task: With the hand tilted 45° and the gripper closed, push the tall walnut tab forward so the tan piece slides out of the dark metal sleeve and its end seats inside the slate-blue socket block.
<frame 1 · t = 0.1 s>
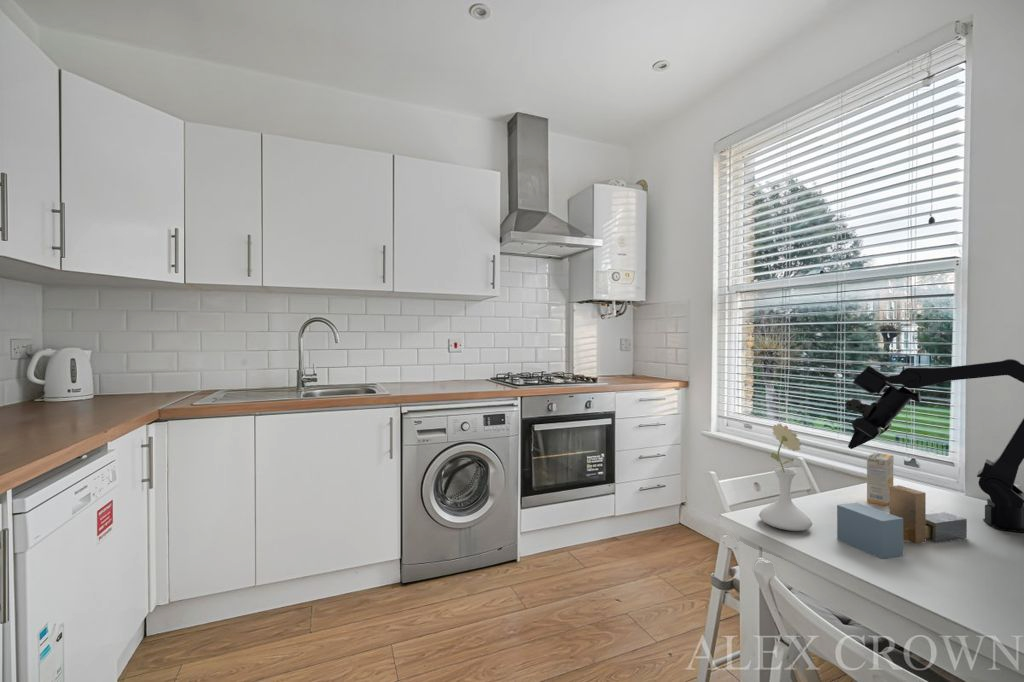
hand: (853, 445, 137), 15 cm above the table, tool tilted 35°, fingers open, 9 cm apart
outer sleeve: (924, 539, 106), on the table
supplement box: (880, 501, 132), on the table
tan piece: (917, 512, 105), point 6 cm above the table, slide at 0.0 cm
slate socket: (868, 529, 102), on the table
flower in vase: (783, 525, 114), on the table
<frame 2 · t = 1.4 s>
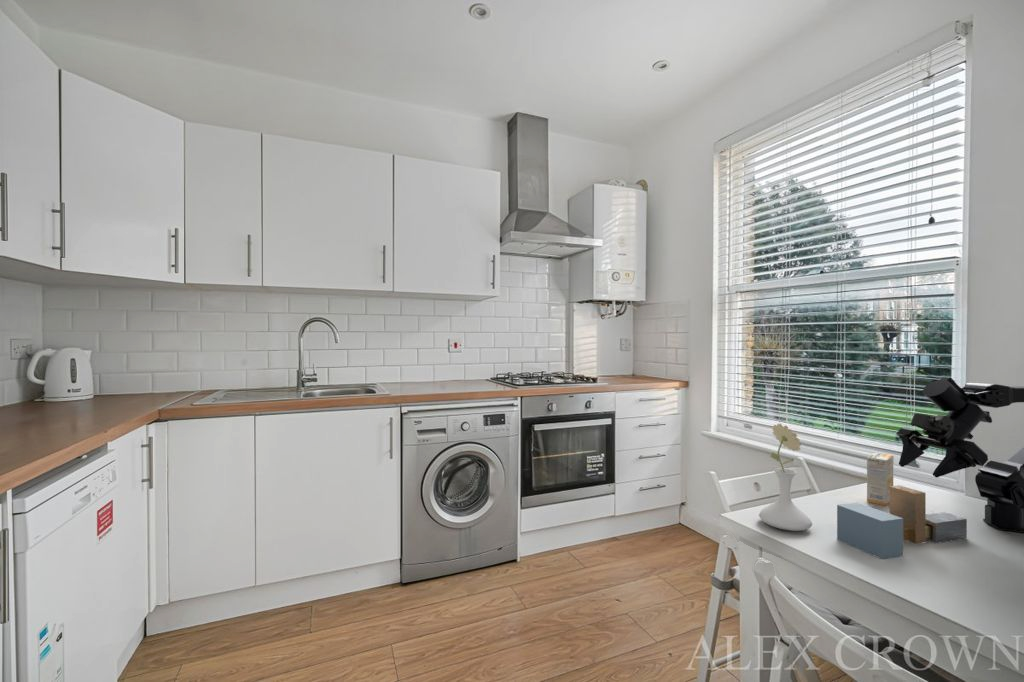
hand: (916, 470, 113), 14 cm above the table, tool tilted 40°, fingers open, 9 cm apart
nothing on the table moved.
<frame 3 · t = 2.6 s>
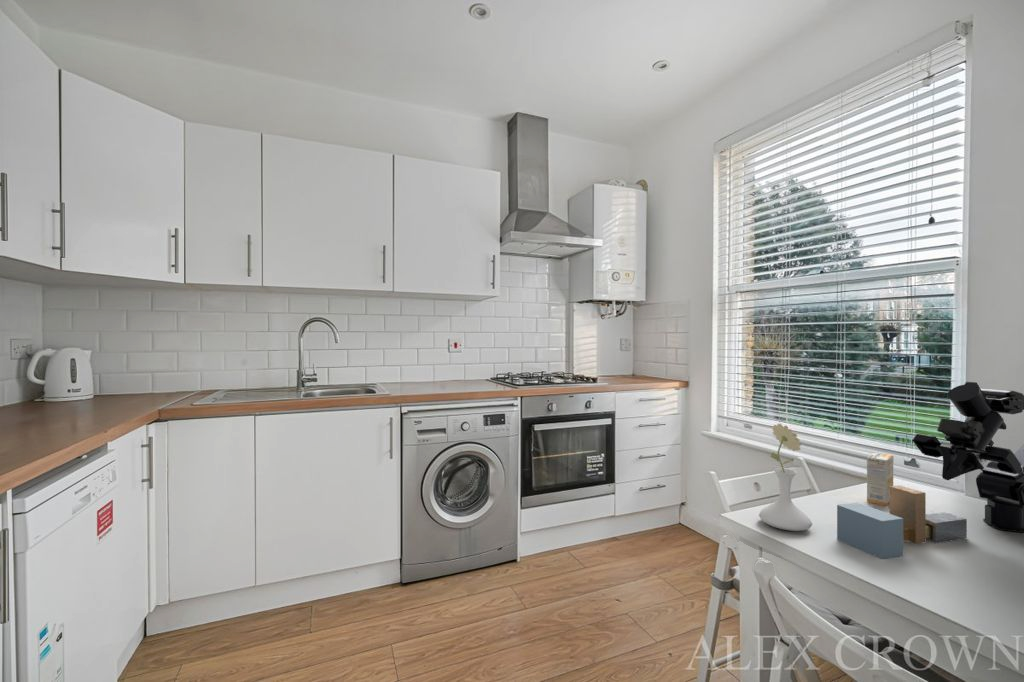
hand: (944, 478, 108), 14 cm above the table, tool tilted 45°, fingers closed
nothing on the table moved.
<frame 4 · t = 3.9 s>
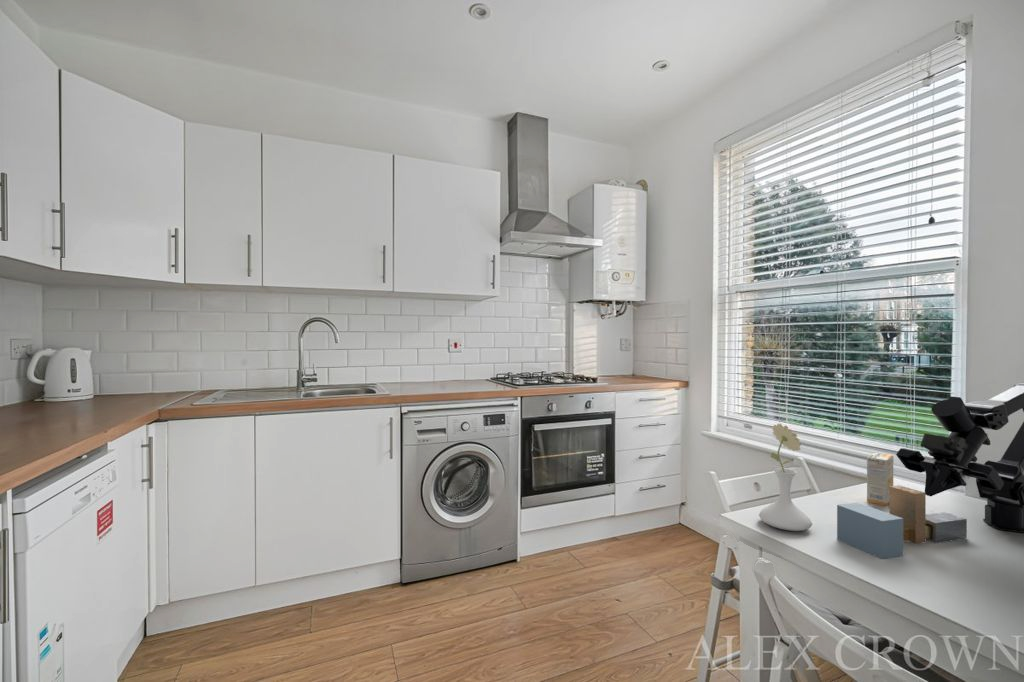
hand: (927, 494, 106), 10 cm above the table, tool tilted 45°, fingers closed
nothing on the table moved.
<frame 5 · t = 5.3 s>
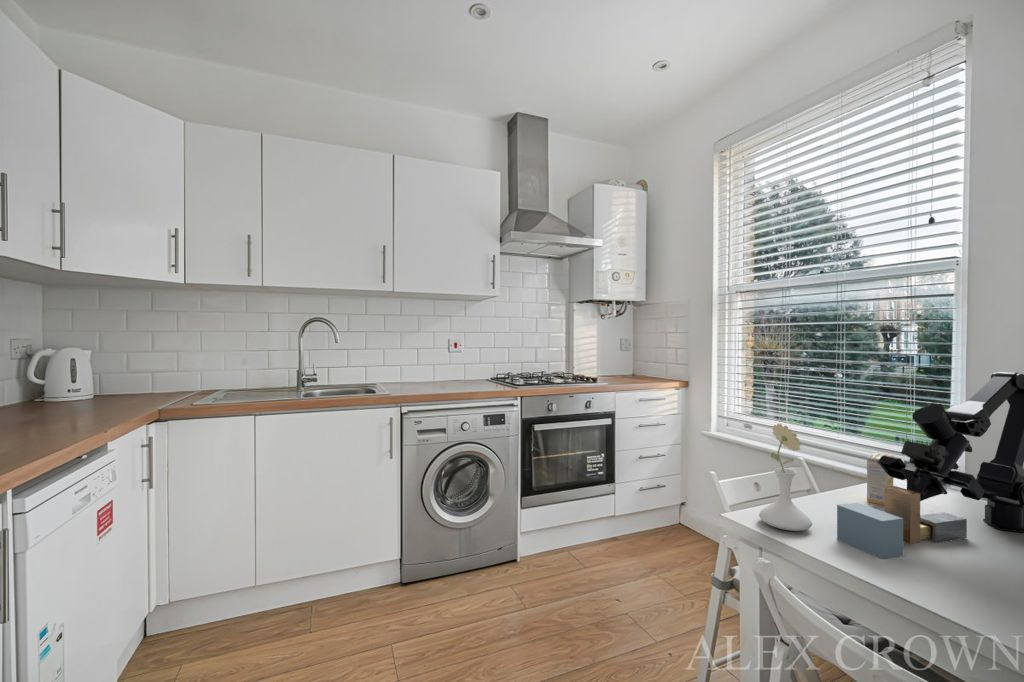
hand: (908, 503, 105), 9 cm above the table, tool tilted 45°, fingers closed, pressing on tan piece
tan piece: (912, 512, 105), point 6 cm above the table, slide at 1.6 cm, touching gripper
everything else where it was.
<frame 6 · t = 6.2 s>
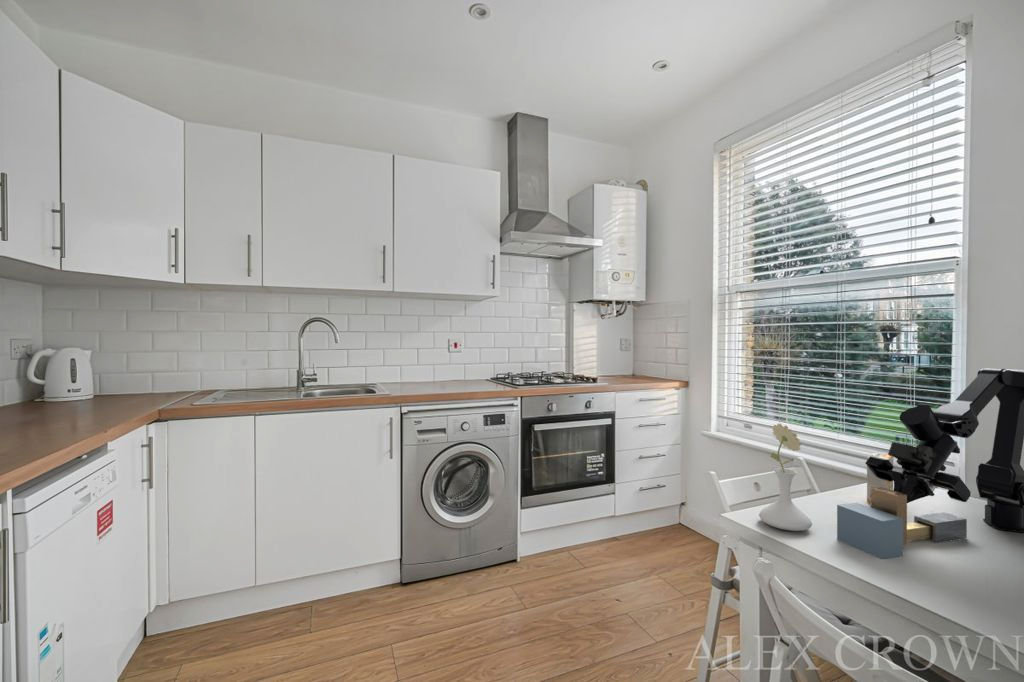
hand: (894, 505, 104), 9 cm above the table, tool tilted 45°, fingers closed, pressing on tan piece
tan piece: (899, 514, 104), point 6 cm above the table, slide at 5.6 cm, touching gripper
everything else where it was.
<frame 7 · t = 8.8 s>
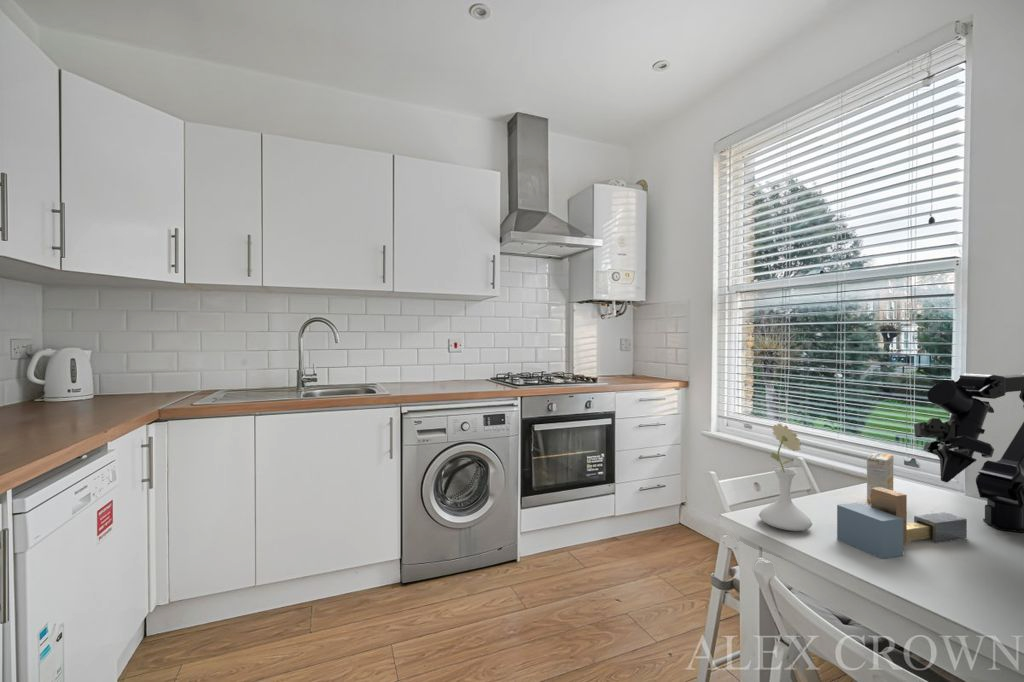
hand: (944, 481, 109), 13 cm above the table, tool tilted 25°, fingers closed
tan piece: (899, 514, 104), point 6 cm above the table, slide at 5.7 cm
everything else where it was.
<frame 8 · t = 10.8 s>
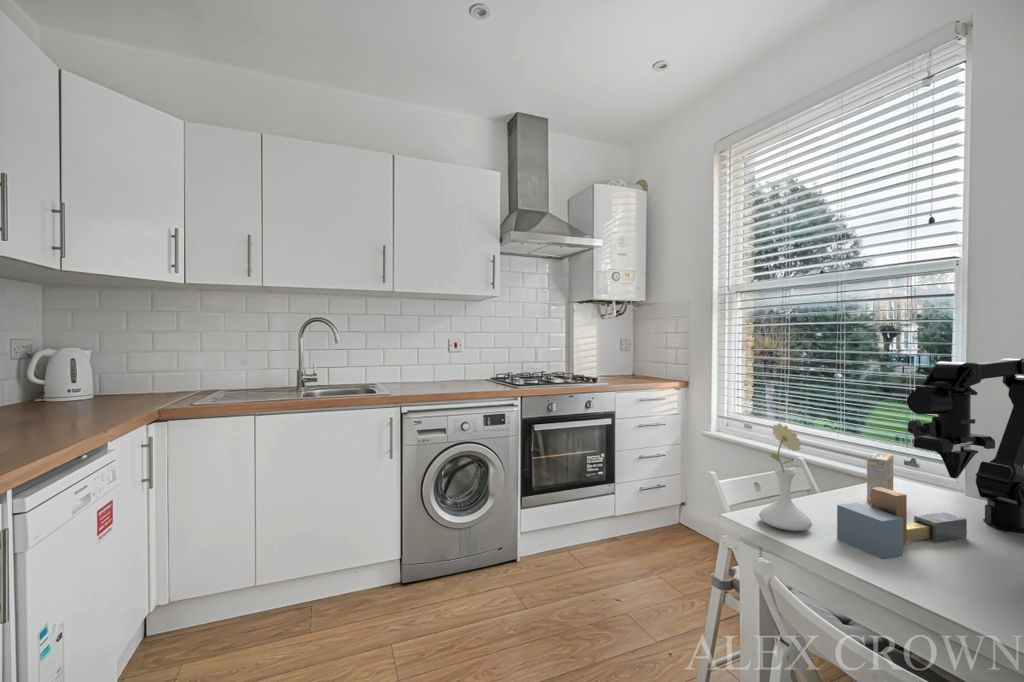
hand: (953, 477, 111), 13 cm above the table, tool pointing down, fingers closed
nothing on the table moved.
at the end: tan piece slide at 5.7 cm; flower in vase moved 0.2 cm from its start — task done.
